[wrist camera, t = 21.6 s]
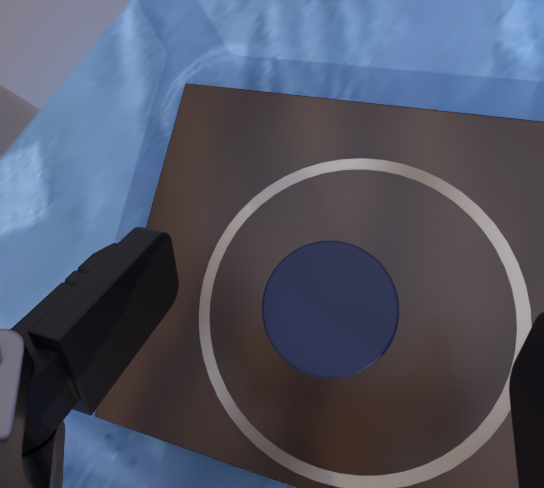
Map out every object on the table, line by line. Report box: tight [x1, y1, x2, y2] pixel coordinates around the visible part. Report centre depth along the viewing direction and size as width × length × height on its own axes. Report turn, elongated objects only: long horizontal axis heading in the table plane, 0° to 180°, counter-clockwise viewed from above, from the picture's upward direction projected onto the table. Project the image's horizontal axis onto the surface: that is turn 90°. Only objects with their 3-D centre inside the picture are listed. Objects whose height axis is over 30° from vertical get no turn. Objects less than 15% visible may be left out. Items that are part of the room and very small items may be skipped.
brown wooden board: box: [95, 83, 544, 488], centre depth 19 cm, size 18×16×1 cm
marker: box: [262, 241, 399, 379], centre depth 13 cm, size 3×3×9 cm
